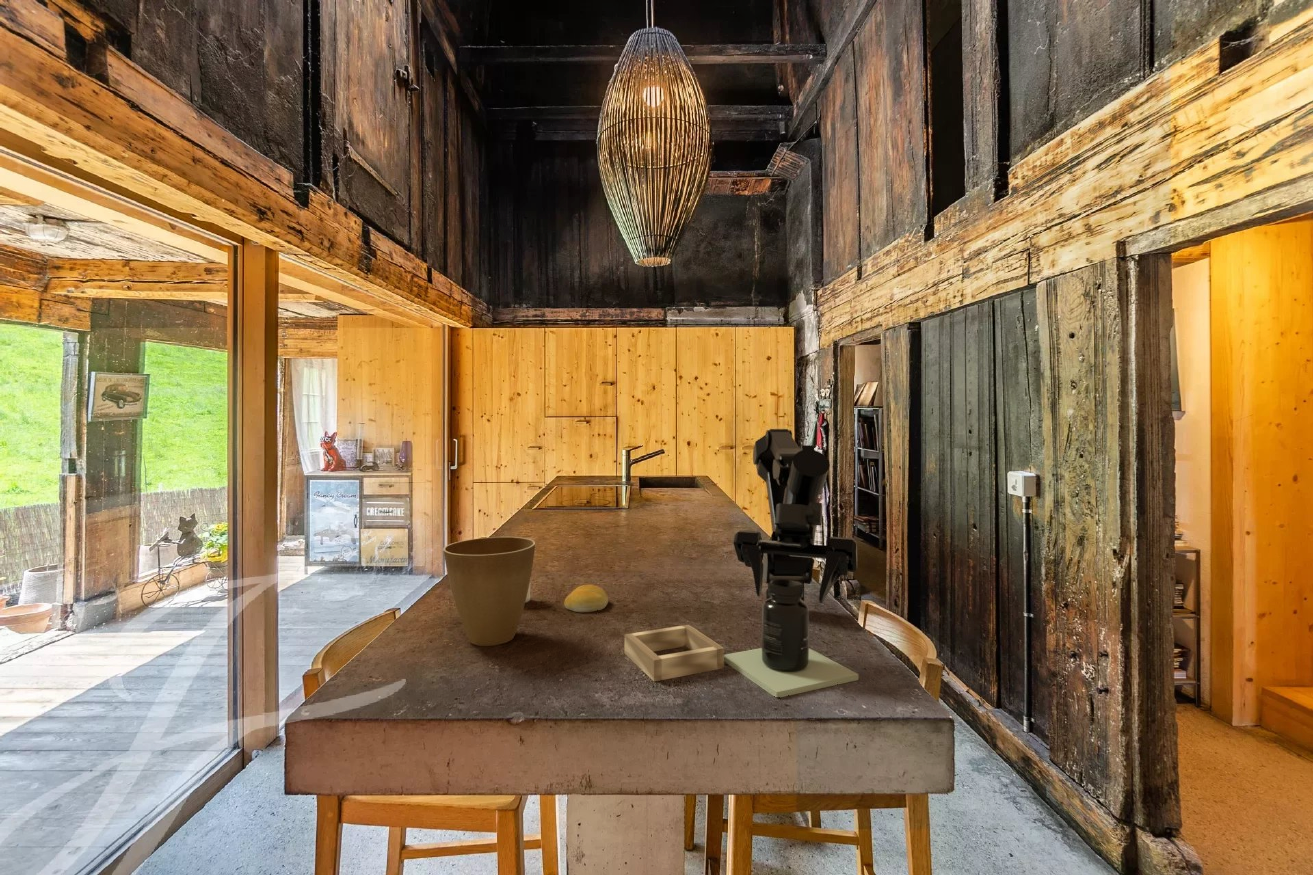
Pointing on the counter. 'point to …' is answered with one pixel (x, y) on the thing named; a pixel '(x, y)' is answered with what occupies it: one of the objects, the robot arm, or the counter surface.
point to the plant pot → (490, 585)
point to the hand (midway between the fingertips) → (788, 598)
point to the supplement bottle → (785, 627)
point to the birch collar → (668, 666)
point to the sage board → (790, 673)
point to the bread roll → (586, 599)
